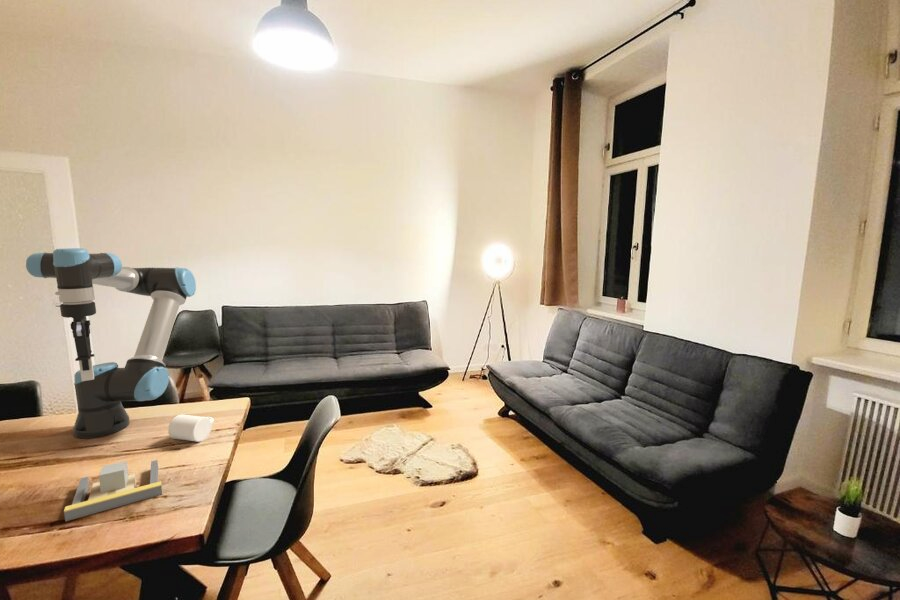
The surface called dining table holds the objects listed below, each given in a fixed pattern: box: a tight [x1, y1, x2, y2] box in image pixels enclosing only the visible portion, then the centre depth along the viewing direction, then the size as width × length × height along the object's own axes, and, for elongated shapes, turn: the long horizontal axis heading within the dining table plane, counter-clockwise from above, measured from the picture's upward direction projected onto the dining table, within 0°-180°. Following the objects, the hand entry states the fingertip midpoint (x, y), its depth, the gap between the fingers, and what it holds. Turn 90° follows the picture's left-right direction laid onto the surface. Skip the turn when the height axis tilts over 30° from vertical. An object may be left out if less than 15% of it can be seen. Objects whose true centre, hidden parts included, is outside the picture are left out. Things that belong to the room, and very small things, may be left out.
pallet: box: [87, 472, 137, 501], centre depth 107 cm, size 9×9×3 cm
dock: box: [63, 459, 163, 522], centre depth 108 cm, size 16×19×3 cm
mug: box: [167, 414, 215, 443], centre depth 139 cm, size 12×10×8 cm
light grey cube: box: [98, 460, 129, 493], centre depth 107 cm, size 5×5×5 cm
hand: (88, 379), depth 120 cm, fingers closed
